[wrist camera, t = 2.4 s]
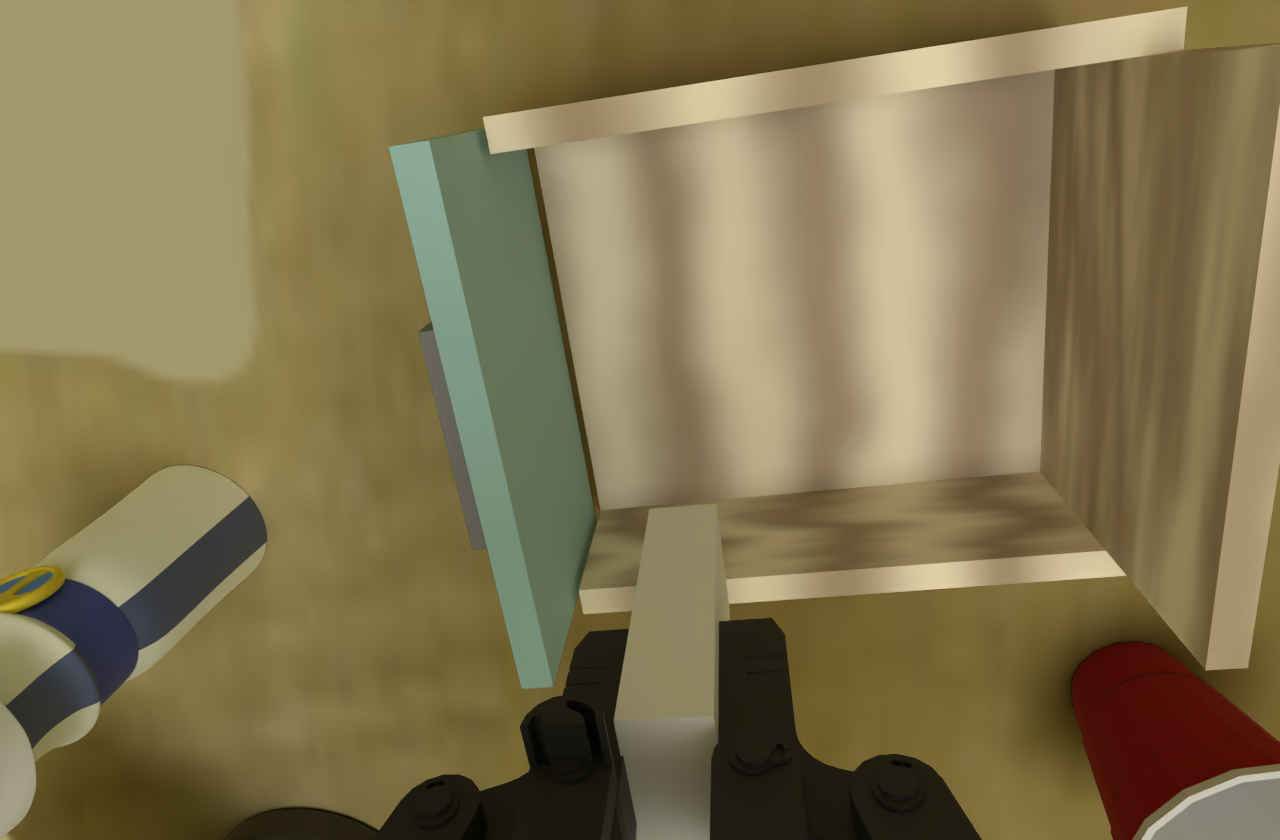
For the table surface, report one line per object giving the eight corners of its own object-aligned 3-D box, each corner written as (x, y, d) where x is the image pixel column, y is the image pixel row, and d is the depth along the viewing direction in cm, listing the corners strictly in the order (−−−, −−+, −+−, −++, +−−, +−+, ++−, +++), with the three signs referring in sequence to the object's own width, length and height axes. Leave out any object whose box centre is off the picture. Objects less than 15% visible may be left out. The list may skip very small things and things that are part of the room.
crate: (611, 503, 44) (552, 734, 28) (541, 108, 37) (411, 127, 21) (1042, 464, 41) (1242, 699, 25) (1059, 27, 34) (1354, -21, 18)
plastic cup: (1203, 766, 47) (1351, 974, 36) (1009, 750, 48) (1096, 950, 37) (1261, 607, 43) (1448, 789, 32) (1048, 594, 44) (1159, 766, 33)
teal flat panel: (558, 528, 41) (500, 690, 30) (475, 129, 34) (362, 150, 23) (597, 524, 41) (553, 686, 30) (522, 122, 34) (428, 140, 23)
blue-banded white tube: (100, 469, 46) (-517, 854, 23) (239, 450, 45) (-267, 837, 22) (157, 592, 49) (-340, 1043, 26) (288, 578, 48) (-110, 1038, 25)
